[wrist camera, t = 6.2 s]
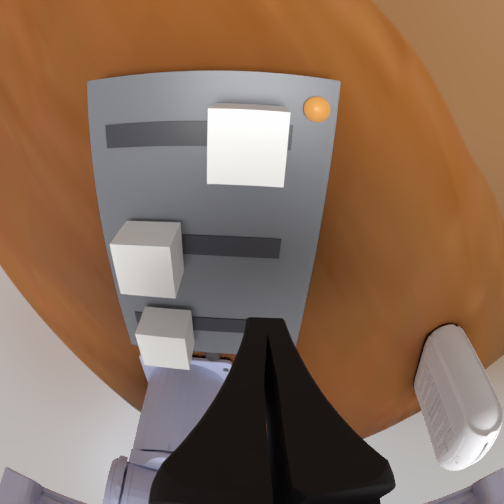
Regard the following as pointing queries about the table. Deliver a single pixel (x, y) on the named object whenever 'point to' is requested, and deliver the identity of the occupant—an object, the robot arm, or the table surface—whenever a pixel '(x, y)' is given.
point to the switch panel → (214, 194)
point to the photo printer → (456, 399)
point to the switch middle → (148, 258)
